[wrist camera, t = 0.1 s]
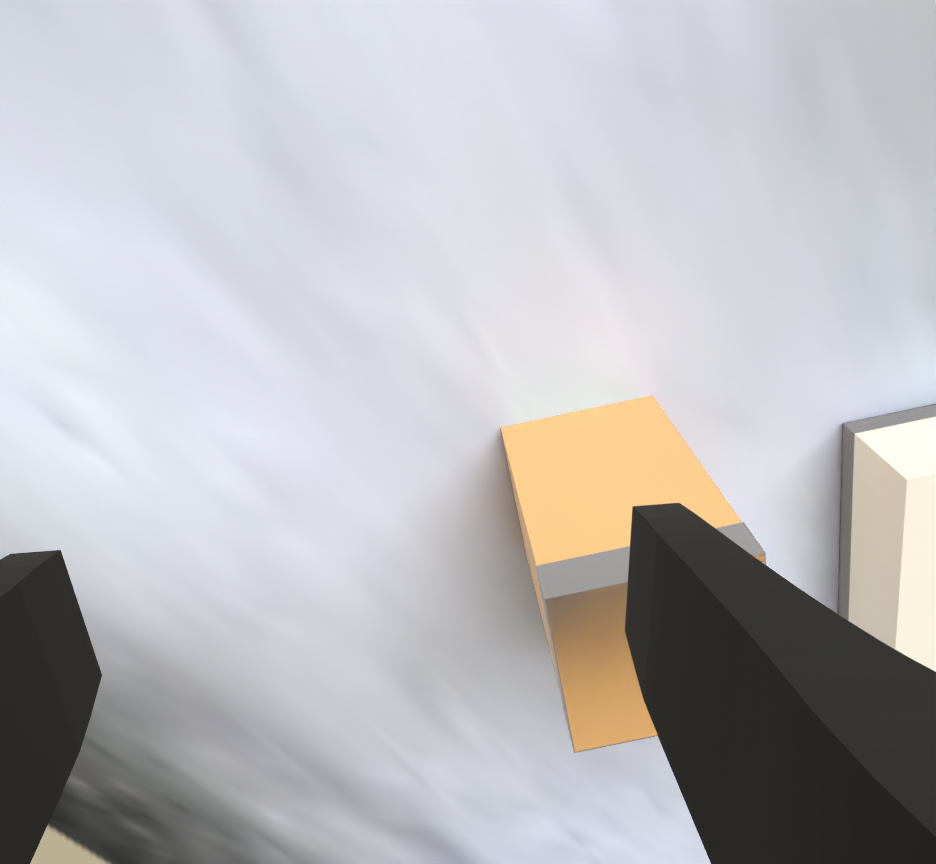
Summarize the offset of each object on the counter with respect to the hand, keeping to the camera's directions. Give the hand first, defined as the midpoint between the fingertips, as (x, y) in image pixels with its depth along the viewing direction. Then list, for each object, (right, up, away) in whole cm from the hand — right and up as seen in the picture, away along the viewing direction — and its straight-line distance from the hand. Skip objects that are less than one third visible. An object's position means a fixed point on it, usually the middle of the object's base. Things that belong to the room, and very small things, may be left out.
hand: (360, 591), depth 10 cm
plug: (+5, +1, +11) cm, 12 cm away
